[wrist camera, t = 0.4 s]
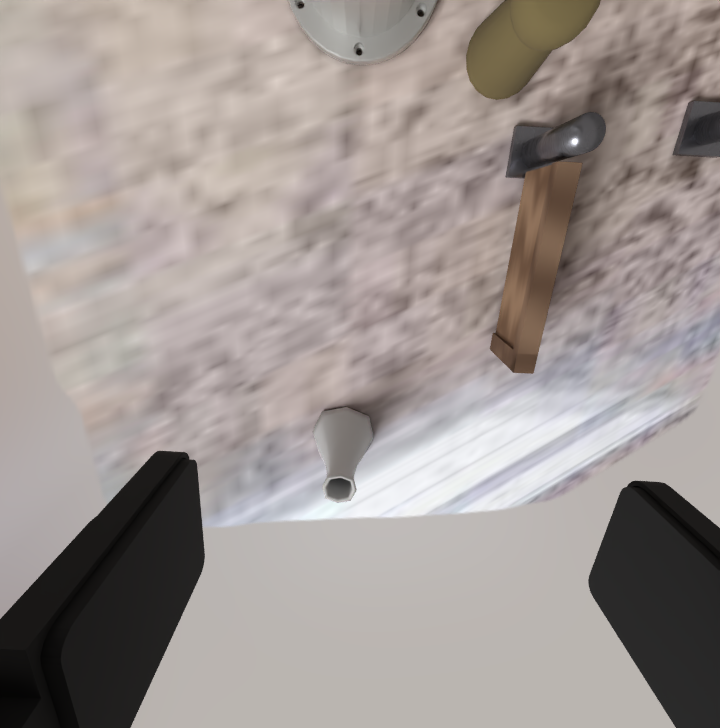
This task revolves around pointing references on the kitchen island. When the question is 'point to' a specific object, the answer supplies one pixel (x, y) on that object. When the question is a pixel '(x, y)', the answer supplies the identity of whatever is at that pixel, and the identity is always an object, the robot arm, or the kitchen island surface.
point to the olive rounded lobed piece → (522, 41)
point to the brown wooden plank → (534, 263)
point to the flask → (342, 449)
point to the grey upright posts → (585, 133)
